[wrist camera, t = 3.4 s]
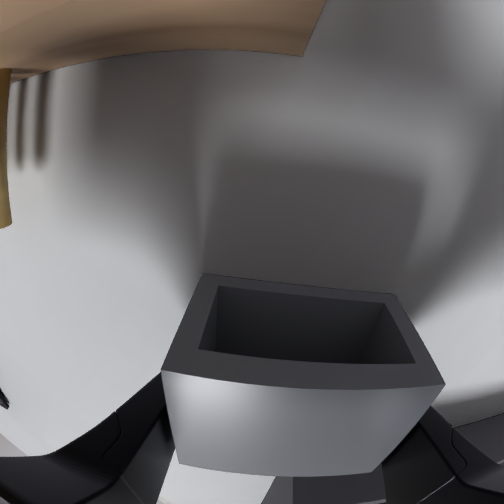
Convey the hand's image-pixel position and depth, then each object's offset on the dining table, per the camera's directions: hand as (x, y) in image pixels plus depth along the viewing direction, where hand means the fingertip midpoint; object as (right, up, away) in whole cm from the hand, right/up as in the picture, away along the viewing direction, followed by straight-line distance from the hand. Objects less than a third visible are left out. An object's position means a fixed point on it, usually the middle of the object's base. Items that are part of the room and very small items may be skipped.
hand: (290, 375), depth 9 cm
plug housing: (0, +1, +1) cm, 1 cm away
